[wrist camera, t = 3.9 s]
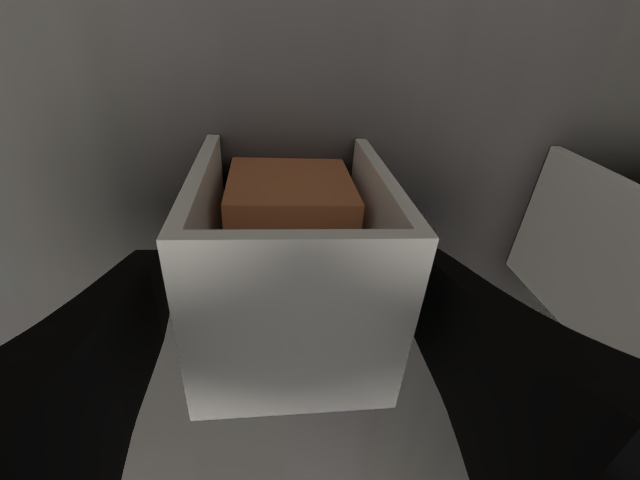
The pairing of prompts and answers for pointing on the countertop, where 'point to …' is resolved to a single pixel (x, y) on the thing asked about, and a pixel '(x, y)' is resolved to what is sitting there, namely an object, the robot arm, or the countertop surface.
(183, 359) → the left cover
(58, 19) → the countertop surface
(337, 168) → the cube
